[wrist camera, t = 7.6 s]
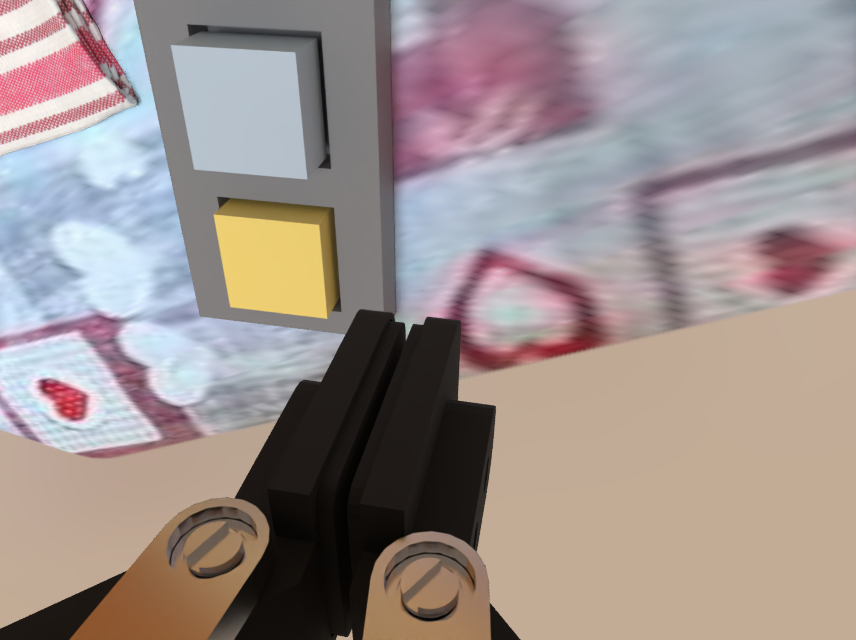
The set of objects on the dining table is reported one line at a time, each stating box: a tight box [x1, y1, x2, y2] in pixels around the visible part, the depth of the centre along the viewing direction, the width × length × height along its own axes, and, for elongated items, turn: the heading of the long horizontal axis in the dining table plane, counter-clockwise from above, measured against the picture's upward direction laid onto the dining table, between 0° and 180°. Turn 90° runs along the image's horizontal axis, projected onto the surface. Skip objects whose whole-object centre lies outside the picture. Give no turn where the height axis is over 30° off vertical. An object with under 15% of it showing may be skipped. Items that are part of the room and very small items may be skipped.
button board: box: [133, 0, 396, 334], centre depth 36 cm, size 12×28×3 cm, turn 179°
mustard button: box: [214, 198, 340, 319], centre depth 40 cm, size 6×6×3 cm
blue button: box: [171, 31, 326, 179], centre depth 34 cm, size 6×6×3 cm
